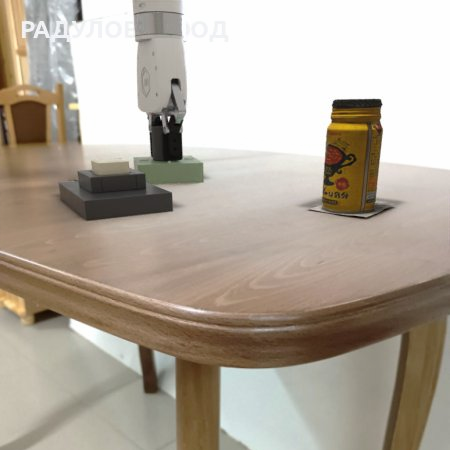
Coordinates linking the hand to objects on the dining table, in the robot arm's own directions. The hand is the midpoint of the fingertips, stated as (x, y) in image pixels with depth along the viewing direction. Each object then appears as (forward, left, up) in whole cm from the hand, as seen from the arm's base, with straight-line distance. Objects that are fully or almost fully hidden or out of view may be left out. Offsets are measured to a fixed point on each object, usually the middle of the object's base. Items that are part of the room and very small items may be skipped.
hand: (166, 157), depth 79 cm
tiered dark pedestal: (+17, -14, -3) cm, 22 cm away
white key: (+17, -14, 0) cm, 22 cm away
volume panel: (0, 0, -3) cm, 3 cm away
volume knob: (0, 0, 0) cm, 0 cm away
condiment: (+33, +10, -4) cm, 35 cm away
